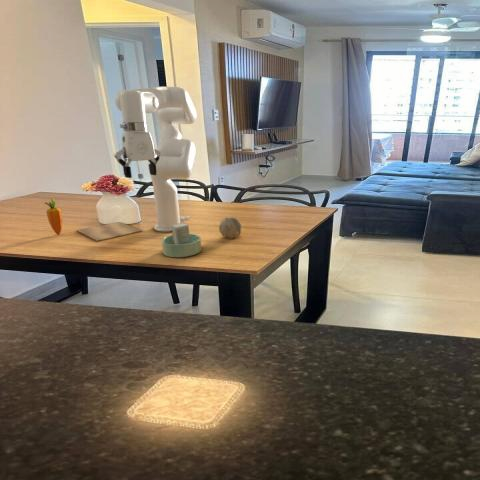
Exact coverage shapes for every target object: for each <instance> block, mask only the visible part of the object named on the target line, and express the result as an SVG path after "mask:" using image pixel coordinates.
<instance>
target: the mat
mask: <svg viewBox="0 0 480 480" xmlns="http://www.w3.org/2000/svg"><path fill="white" fill-rule="evenodd" d="M76 231H77V232H78V233H80V234H82V235H84V236H86V237H88V238H90V239H91V240H94V241H96V242H101V241H105V240H109V239H114V238H119V237H122V236H127V235H131V234H136V233H141V232H142V230H140V229H138V228H135V227H133V226H131V225H128V224H126V223H124V222H122V221H117V222H112V223H107V224H102V225H97V226H92V227H87V228H82V229H81V228H80V229H77V230H76Z"/></svg>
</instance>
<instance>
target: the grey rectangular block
mask: <svg viewBox="0 0 480 480" xmlns="http://www.w3.org/2000/svg"><path fill="white" fill-rule="evenodd" d="M171 228H172V231H171V235H172V236H173V243H174V245H180V244H188V243H190V236H189V234H190V228H189V225H188V224H187V223H185V222H183V223H180V224H175V225H171Z"/></svg>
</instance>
